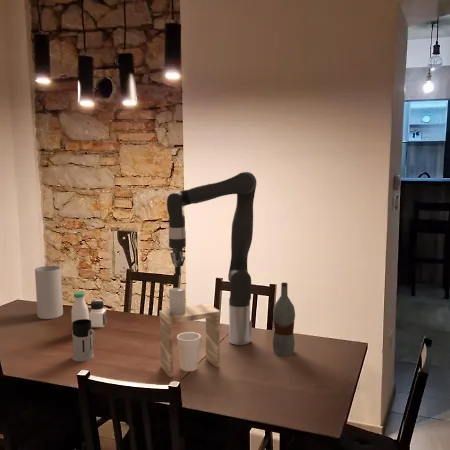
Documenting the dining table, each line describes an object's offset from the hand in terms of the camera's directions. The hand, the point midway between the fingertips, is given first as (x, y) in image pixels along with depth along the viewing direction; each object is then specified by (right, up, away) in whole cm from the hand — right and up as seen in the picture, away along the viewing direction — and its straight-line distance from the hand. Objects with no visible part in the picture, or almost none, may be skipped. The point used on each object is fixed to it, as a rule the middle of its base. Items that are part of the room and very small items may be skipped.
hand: (177, 274), depth 230 cm
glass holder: (-36, -33, -21) cm, 52 cm away
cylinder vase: (-69, -25, +34) cm, 81 cm away
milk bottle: (-46, -29, +6) cm, 54 cm away
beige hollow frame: (+8, -34, -29) cm, 45 cm away
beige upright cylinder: (+3, -11, -35) cm, 36 cm away
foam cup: (+7, -34, -30) cm, 46 cm away
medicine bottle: (-41, -27, +20) cm, 53 cm away
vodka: (+46, -32, -14) cm, 58 cm away
